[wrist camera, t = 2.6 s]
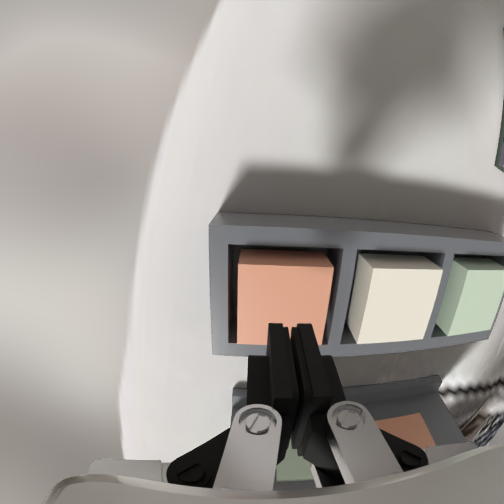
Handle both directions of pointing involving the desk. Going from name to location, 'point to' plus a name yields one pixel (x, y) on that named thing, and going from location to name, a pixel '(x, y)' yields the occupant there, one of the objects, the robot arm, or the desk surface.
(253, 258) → the key terracotta
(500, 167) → the smartphone
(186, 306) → the desk surface
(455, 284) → the key sage
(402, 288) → the key cream
